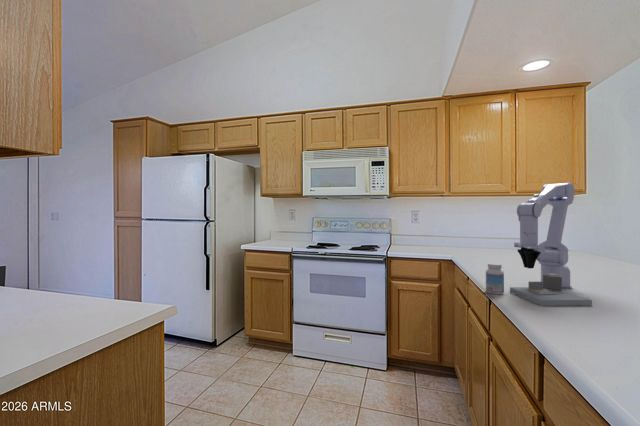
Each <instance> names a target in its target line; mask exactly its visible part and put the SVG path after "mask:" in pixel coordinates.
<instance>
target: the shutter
mask: <svg viewBox="0 0 640 426" xmlns="http://www.w3.org/2000/svg"><path fill="white" fill-rule="evenodd" d="M528 287H529V288H527V290H529V291H532V292H534V293H537V294H539V295H543V294H558V293H556V292H553V291H551V290H548V289H545V288H543V282H541V281H528Z"/></svg>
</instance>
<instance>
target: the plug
mask: <svg viewBox="0 0 640 426" xmlns="http://www.w3.org/2000/svg"><path fill="white" fill-rule="evenodd" d="M543 288H545V289H548V290H551V291H562V290H563V288H562V277H559V275H558V274H554V273H546V275H543Z"/></svg>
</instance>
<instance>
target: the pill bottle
mask: <svg viewBox="0 0 640 426" xmlns="http://www.w3.org/2000/svg"><path fill="white" fill-rule="evenodd" d="M502 268H503V265H502V264H501V263H499V262H488V263H487V269H486V270H485V292H486V293H488V294H491V295H503V294H504V293H505V274H504V271H503V270H502Z"/></svg>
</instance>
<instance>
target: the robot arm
mask: <svg viewBox="0 0 640 426" xmlns="http://www.w3.org/2000/svg"><path fill="white" fill-rule="evenodd" d="M575 190H576V189H575V186H574V184H573V183H572V182H570V181H569V182H561V183H545V184H543V185H542V188H541V192H540V193H537V194H534V193H533V195H532V196H531V198H529V199H528V200H527V201H526V202H522V203H520V204H518V205H517V208H516V214H517V216H518V222H519V241H518V242H513V243H514V244H513V245H514V246H513V247H514V248H519V249H517V252H518V253H519V256H520V259H521V260H522V264H523V267H524V268H527V269H534V268H535V265H536V261H537V262H538V264H540V282H543V275H546V273H554V274H558V275H559V277H562V289H563V288H573V286H572V285H571V271H570V268H569V266H567V265H566V264H568V261H569V249H568V247H567V246H566V245H564V243H563V242H562V240H563V234H564V228H565V222H566V219H567V212H568V208H569V206H570V205H571V204H573V203H574V202H573V201H574V199H575V192H576V191H575ZM547 205H549V206H552V209H551V210H552V211H551V216H550V220H549V223H548V224H549V226H548V231H547V236H546V240H545V241H543V242H541V243H539V217H541V216H542V215H541V214H542V213H543V209H544V208H545V207H546V206H547Z"/></svg>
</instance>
